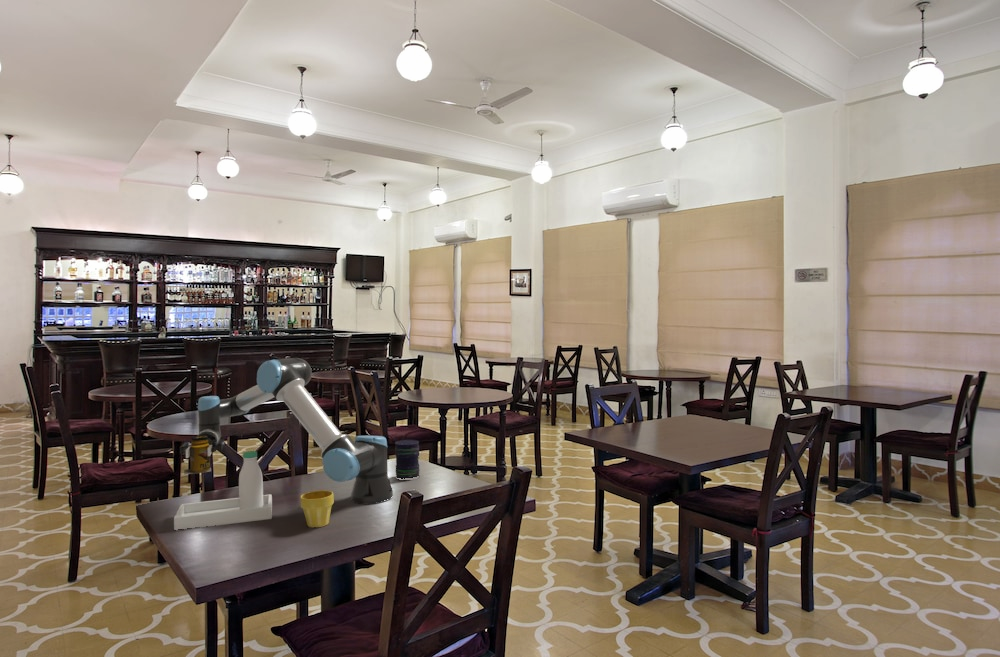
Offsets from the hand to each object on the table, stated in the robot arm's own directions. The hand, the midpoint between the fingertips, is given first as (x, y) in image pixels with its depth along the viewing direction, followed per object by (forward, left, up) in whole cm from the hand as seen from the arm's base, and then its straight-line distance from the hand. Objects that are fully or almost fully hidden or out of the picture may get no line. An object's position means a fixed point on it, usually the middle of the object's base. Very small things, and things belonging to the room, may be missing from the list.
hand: (197, 453), depth 207 cm
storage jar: (-12, -78, -22) cm, 82 cm away
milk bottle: (-10, -14, -21) cm, 27 cm away
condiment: (+5, -1, -8) cm, 9 cm away
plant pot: (-38, -24, -22) cm, 50 cm away
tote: (-8, -6, -22) cm, 24 cm away
